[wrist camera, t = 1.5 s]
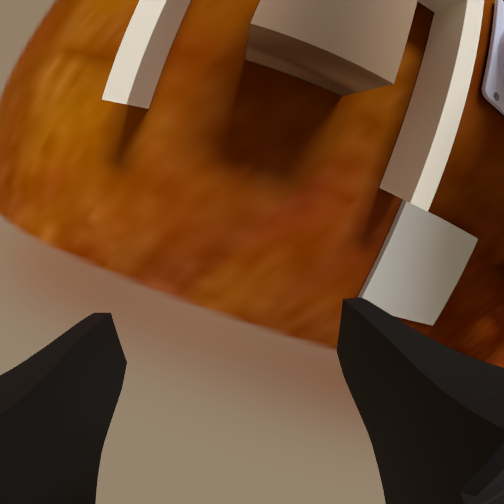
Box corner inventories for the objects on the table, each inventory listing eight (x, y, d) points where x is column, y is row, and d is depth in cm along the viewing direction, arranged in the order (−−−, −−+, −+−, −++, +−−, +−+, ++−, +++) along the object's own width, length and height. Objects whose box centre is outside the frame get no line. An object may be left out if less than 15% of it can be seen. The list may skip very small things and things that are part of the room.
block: (368, 18, 11) (421, -17, 6) (341, 96, 12) (393, 83, 8) (277, -19, 10) (297, -75, 5) (244, 59, 12) (250, 23, 7)
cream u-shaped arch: (451, 10, 10) (484, -2, 7) (395, 195, 14) (427, 211, 11) (218, -87, 8) (216, -119, 5) (128, 104, 12) (101, 99, 9)
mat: (474, 236, 15) (478, 238, 15) (429, 322, 17) (432, 325, 17) (403, 198, 14) (406, 200, 14) (354, 302, 16) (357, 306, 16)
